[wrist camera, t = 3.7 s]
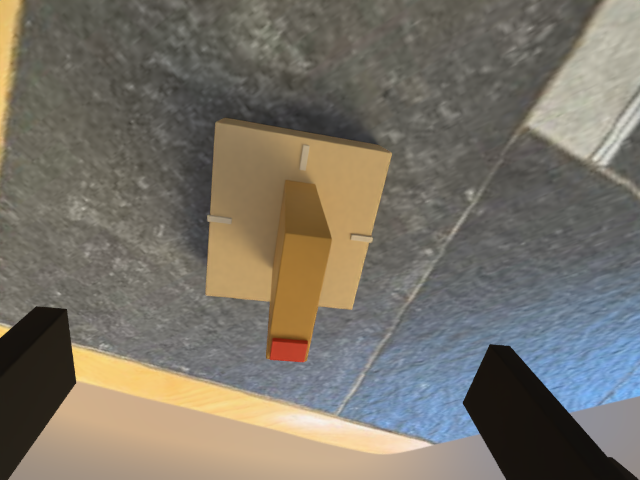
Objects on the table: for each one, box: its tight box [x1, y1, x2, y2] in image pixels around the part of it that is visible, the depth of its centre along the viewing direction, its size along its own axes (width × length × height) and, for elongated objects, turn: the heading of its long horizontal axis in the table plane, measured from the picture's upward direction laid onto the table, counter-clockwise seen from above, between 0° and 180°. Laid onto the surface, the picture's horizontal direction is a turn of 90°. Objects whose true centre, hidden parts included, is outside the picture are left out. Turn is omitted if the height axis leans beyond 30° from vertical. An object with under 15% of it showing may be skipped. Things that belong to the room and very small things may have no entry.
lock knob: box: [266, 180, 332, 362], centre depth 17 cm, size 6×2×8 cm, turn 170°
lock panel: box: [205, 118, 392, 310], centre depth 22 cm, size 11×10×3 cm
